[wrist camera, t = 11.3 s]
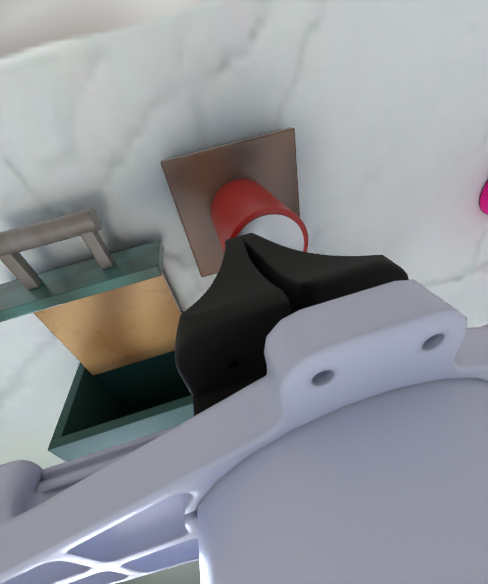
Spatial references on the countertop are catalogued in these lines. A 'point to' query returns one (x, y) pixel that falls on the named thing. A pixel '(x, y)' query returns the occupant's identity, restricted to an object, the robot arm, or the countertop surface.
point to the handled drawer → (92, 294)
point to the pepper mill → (484, 199)
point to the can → (255, 215)
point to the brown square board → (221, 170)
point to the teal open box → (121, 406)
